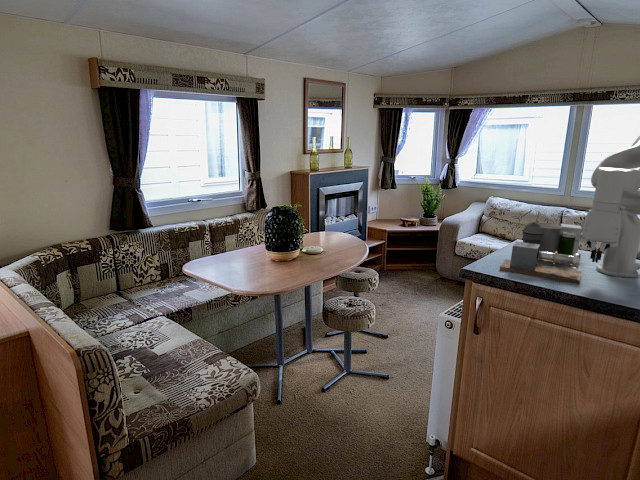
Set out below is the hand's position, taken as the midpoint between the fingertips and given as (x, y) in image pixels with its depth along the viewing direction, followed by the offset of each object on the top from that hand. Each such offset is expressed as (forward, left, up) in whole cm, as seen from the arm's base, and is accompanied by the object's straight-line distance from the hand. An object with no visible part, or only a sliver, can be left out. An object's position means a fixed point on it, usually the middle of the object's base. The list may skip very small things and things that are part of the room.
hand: (594, 261), depth 139 cm
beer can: (-2, -22, -8) cm, 23 cm away
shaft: (+11, -7, -3) cm, 13 cm away
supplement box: (-9, -34, -8) cm, 36 cm away
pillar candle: (+3, -28, -8) cm, 29 cm away
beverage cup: (+11, -23, -8) cm, 27 cm away
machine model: (+13, -8, -7) cm, 17 cm away
